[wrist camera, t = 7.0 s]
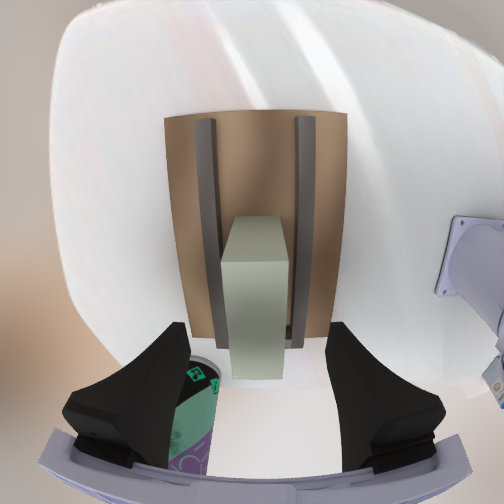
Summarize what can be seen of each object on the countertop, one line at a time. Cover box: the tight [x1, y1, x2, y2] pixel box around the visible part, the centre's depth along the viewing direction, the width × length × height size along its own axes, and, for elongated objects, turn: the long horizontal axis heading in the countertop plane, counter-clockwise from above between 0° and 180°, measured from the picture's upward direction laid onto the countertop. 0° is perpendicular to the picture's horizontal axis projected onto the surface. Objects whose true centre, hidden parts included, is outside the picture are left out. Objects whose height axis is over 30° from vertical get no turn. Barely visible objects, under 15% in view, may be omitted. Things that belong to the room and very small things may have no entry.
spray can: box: [168, 356, 221, 476], centre depth 18 cm, size 6×6×20 cm
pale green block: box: [221, 216, 289, 380], centre depth 17 cm, size 3×8×7 cm, turn 2°
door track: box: [164, 110, 347, 349], centre depth 19 cm, size 12×18×3 cm, turn 2°
